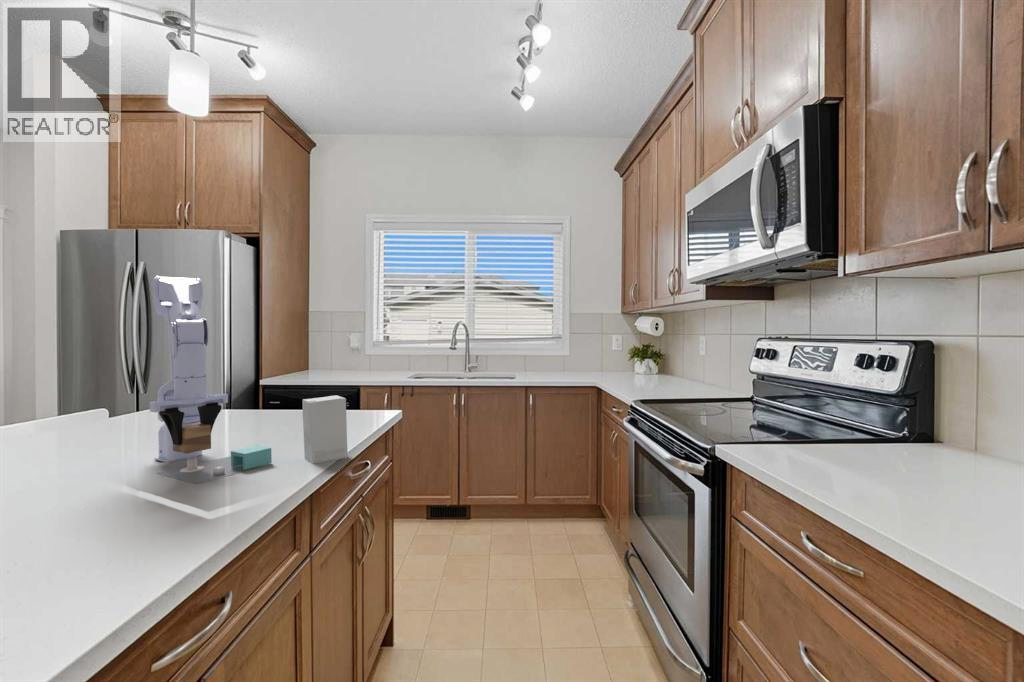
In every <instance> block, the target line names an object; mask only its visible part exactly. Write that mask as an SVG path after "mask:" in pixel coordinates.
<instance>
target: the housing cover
mask: <svg viewBox="0 0 1024 682" xmlns="http://www.w3.org/2000/svg"><path fill="white" fill-rule="evenodd" d="M230 456H231V467H235V466H240V465H243V469H244V470H246V469H250V468H254V467H258V466H262V465H265V464H269V463H270V464H273V463H272V461H273V460H272V447H268V446H262V445H254V446H249V447H244V448H238V449H234V450H231V451H230Z"/></svg>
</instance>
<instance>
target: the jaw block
mask: <svg viewBox="0 0 1024 682" xmlns="http://www.w3.org/2000/svg"><path fill="white" fill-rule="evenodd" d="M206 450H212V432H211V425H207V424H201V423H194V424H188V425H182V445H175V444H173V451H176V452H181V453H185V454H187V453H192V452H197V451H202V452H203V451H206Z"/></svg>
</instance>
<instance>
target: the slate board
mask: <svg viewBox="0 0 1024 682" xmlns="http://www.w3.org/2000/svg"><path fill="white" fill-rule="evenodd" d="M271 465H274V464H273V463H269V464H265V465H262V466H258V467H254V468H250V469H246V470H244V469H243V465H240V466H235V467H231V455H229V456H226V457H221V458H218V459H212V460H209V461H205V462H200V463H198V456H195V457H189V458H186V466H181V467H177V468H172V469H169V470H164V471H159V472H156V475H157V474H158V475H161V476H165V477H169V478H173V479H175V480H180V481H184V482H186V483H191V484H194V485H198V484H202V483H205V482H209V481H214V480H218V479H221V478H222V479H223V478H225V477H230V476H234V475H237V474H242V473H244V472H249V471H252V470H253V471H254V470H256V469H262V468H263V467H268V466H271Z"/></svg>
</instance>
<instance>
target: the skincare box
mask: <svg viewBox="0 0 1024 682" xmlns="http://www.w3.org/2000/svg"><path fill="white" fill-rule="evenodd" d="M302 422H303V423H302V424H303V448H304V460H306V461H308V462H309V463H311V464H314V465H315V464H319V463H320V464H321V463H326V462H331V461H338V460H341V459H348V457H349V455H348V429H347V428H348V427H347V426H348V425H347V424H348V423H347V398H346V397H343V396H340V395H328V396H323V397H313V398H306V399H305V398H303V399H302Z"/></svg>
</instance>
